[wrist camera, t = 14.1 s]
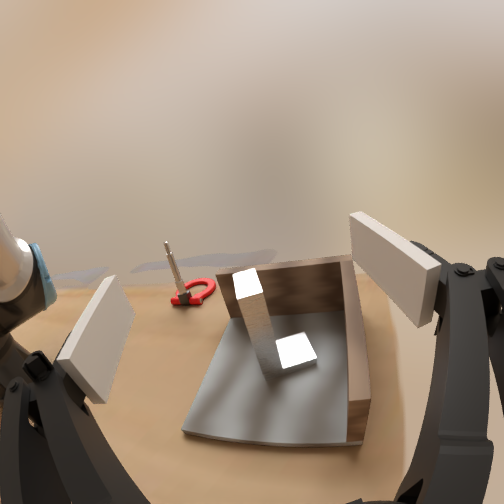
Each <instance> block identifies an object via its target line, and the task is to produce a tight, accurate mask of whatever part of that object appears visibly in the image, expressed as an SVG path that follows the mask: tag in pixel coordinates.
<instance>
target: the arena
mask: <svg viewBox="0 0 504 504" xmlns="http://www.w3.org/2000/svg"><path fill="white" fill-rule="evenodd" d="M253 268H255V271H256V274H257V276H258V279H259V282H260V285H261V288H262V291H263V294H264V298H265V302H266V306H267V309H268V313H269V317H270V321H271V324H272V328H273V332H274V336H275V339H276V340H279V339H282V338H286V337H289V336H292V335H295V334H299V333H302V332H305V334H306V336H307V339H308V341H309V343H310V345H311V347H312V349H313V351H314V353H315V355H316V357H317V364H316V365H313V366H310V367H307V368H304V369H301V370H298V371H295V372H292V373H288V374H285V375H282V376H278V377H275V378H271V379H267V380H265V379H264V376H263V373H262V370H261V368H260V365H259V362H258V359H257V356H256V353H255V350H254V348H253V345H252V342H251V339H250V336H249V333H248V330H247V327H246V324H245V321H244V318H243V315H242V312H241V309H240V306H239V303H238V300H237V295H236V290H235V284H234V278H233V274H236V273H239V272H243V271H246V270H250V269H253ZM216 277H217V281H218V284H219V286H220V289H221V292H222V295H223V298H224V301H225V303H226V306H227V309H228V312H229V314H230V317H231V318H230V321H229V323H228V325H227V327H226V330H225V332H224V334H223V336H222V339H221V341H220V343H219V345H218V348H217V350H216V352H215V354H214V357H213V359H212V361H211V363H210V366H209V368H208V370H207V372H206V375H205V377H204V379H203V381H202V384H201V386H200V388H199V390H198V393H197V395H196V397H195V399H194V401H193V404H192V406H191V408H190V410H189V413H188V415H187V417H186V419H185V421H184V424H183V426H182V428H181V430H182V431H183V432H184V433H185V434H190V435H195V436H200V437H205V438H211V439H217V440H223V441H230V442H237V443H246V444H255V445H267V446H284V447H333V446H350V445H362V443H363V439H364V434H365V429H366V424H367V419H368V414H369V408H370V402H371V391H370V378H369V367H368V357H367V348H366V340H365V332H364V325H363V318H362V311H361V305H360V299H359V293H358V287H357V282H356V276H355V271H354V266H353V261H352V256H351V254H350V255H341V256H334V257H325V258H316V259H308V260H298V261H290V262H281V263H272V264H262V265H253V266H244V267H234V268H225V269H219V270H218V271H217V273H216Z"/></svg>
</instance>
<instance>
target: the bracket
mask: <svg viewBox="0 0 504 504" xmlns="http://www.w3.org/2000/svg"><path fill="white" fill-rule="evenodd" d="M233 278H234V284H235V290H236V295H237V300H238V303H239V306H240V309H241V312H242V315H243V318H244V321H245V324H246V327H247V330H248V333H249V336H250V339H251V342H252V345H253V348H254V350H255V353H256V356H257V359H258V362H259V365H260V368H261V370H262V373H263V376H264V379H265V380H267V379H271V378H275V377H278V376H282V375H285V374H288V373H292V372H295V371H298V370H301V369H304V368H307V367H310V366H313V365H316V364H317V357H316V355H315V353H314V351H313V349H312V347H311V345H310V343H309V341H308V339H307V336H306V334H305V332H302V333H299V334H295V335H292V336H289V337H286V338H282V339H279V340H276V339H275V336H274V332H273V328H272V324H271V321H270V317H269V313H268V309H267V306H266V302H265V298H264V294H263V291H262V288H261V285H260V282H259V279H258V276H257V274H256V271H255V268H253V269H250V270H246V271H243V272H239V273H236V274H233Z"/></svg>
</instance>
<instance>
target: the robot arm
mask: <svg viewBox="0 0 504 504" xmlns="http://www.w3.org/2000/svg"><path fill="white" fill-rule="evenodd" d="M349 219H350V232H351V245H352V259H353V260H354V261H355V262H356V263H357V264H358V265H359V266H360V267H361V268H362V269H363V270H364V271H365V272H366V273H367V274H368V275H369V276H370V277H371V278H372V279H373V280H374V281H375V282H376V284H377V285H378V286H379V287H380V288H381V289H382V290H383V291H384V292H385V293H386V294H387V295H388V296H389V297H390V298H391V299H392V300H393V302H394V303H395V304H396V305H397V306H398V307H399V308H400V309H401V310H402V311H403V312H404V313H405V315H406V316H407V317H408V318H409V319H410V320H411V321H412V322H413V324H414V325H415V326H416V327H417V328H419V327H421V326H424V325H426V324H428V323H429V322H431V321H432V316H433V311H434V310H435V311H436V312H437V313H438V314H439V318H438V322H437V326H436V330H435V334H434V335H437V339H436V349H435V359H434V366H433V374H432V381H431V386H430V392H429V397H428V402H427V407H426V411H425V416H424V420H423V424H422V428H421V432H420V436H419V439H418V443H417V446H416V449H415V453H414V456H413V459H412V462H411V465H410V467H409V470H408V472H407V474H406V476H405V477H404V479H403V481H402V483H401V485H400V487H399V489H398V492H397V494H396V496H395V499H394V501H368V502H363V501H362V499H361V498H360V499H358V500H355V501H352V502H349V503H347V504H482V503H483V499H484V496H485V492H486V488H487V484H488V480H489V475H490V471H491V465H492V460H493V452H494V451H493V450H494V446H493V442H492V441H490V440H488V439H487V424H488V414H489V394H490V392H489V391H490V371H489V357H490V360H491V364H492V367H493V371H494V374H495V378H496V382H497V386H498V390H499V395H500V400H501V405H502V410H503V415H504V258H501V257H493V258H490V259H489V260H488V261H487V266H486V269H485V270H479V271H476V270H475V269H474V268H473V267H472V266H469V265H467V264H464V263H455V264H452V265H451V264H450V263H448V262H447V261H446V260H444V259H443V258H441V257H440V256H438V255H437V254H434V252H433V251H431V250H428V248H427V247H425V246H424V245H422V244H420V243H417V242H414V241H410V242H409V241H408V240H406V239H405V238H403V237H401V236H400V235H398V234H397V233H395V232H394V231H392V230H391V229H389V228H387V227H386V226H384V225H383V224H381V223H379V222H378V221H376V220H375V219H373V218H371V217H370V216H368V215H366V214H365V213H363V212H361V211H360V212H356V213H352V214H349ZM56 299H57V293H56V290H55V288H54V285H53V283H52V280H51V278H50V276H49V273H48V270H47V267H46V265H45V262H44V260H43V257H42V254H41V251H40V248H39V246H38V244H36V243H33V244H29V245H27V244H26V242H25V241H23V240H22V239H19V238H16V237H13V236H12V234H11V232H10V230H9V229H8V227H7V225H6V223H5V221H4V219H3V217H2V215H1V214H0V406H1V407H2V408H3V412H2V420H1V430H0V496H1V504H71V502H72V504H151V503H150V502H149V501H148V500H147V499H146V497H145V496H144V495H143V493H142V492H141V491H140V490H139V488H138V487H137V486H136V484H135V483H134V482H133V480H132V479H131V477H130V476H129V475H128V473H127V472H126V470H125V469H124V467H123V466H122V464H121V463H120V461H119V460H118V458H117V457H116V455H115V454H114V452H113V450H112V449H111V447H110V446H109V444H108V442H107V440H106V439H105V437H104V435H103V434H102V432H101V430H100V428H99V426H98V424H97V423H96V421H95V419H94V417H93V415H92V413H91V411H90V409H89V407H88V406H87V404H86V403H85V402H84V399H85V396H87V397H88V398H89V399H90V400H91V402H92V403H93V404H107V400H108V397H109V393H110V390H111V386H112V383H113V380H114V376H115V373H116V370H117V367H118V364H119V360H120V357H121V354H122V351H123V348H124V345H125V342H126V339H127V337H128V334H129V331H130V328H131V325H132V323H133V320H134V317H135V312H134V310H133V308H132V306H131V305H130V303H129V301H128V299H127V297H126V295H125V293H124V291H123V288H122V286H121V284H120V282H119V280H118V278H117V276H116V275H113V276H110V277H106V278H105V279H104V280H103V282H102V283H101V285H100V286H99V288H98V289H97V291H96V292H95V294H94V296H93V297H92V299H91V300H90V302H89V304H88V305H87V307H86V308H85V310H84V312H83V313H82V315H81V317H80V318H79V320H78V322H77V323H76V325H75V327H74V329H73V330H72V331H71V332H70V333H69V335H68V337H67V338H66V340H65V343H64V344H63V346H62V348H61V349H60V351H59V353H58V355H57V357H56V359H55V361H54V362H53V364H51V363H50V361H49V360H48V359H47V357H46V356H45V355H44V353H43V352H42V351H35V352H33V353H30V352H28V351H27V350H26V349H25V348H23V347H22V346H21V345H20V344H18V343H17V342H16V341H15V340H14V339H13V337H12V336H11V334H10V333H9V332H11V331H12V330H13V329H15V328H16V327H18V326H20V325H21V324H23V323H24V322H26V321H27V320H29V319H30V318H32V317H33V316H35V315H36V314H38V313H40V312H41V311H45V310H46V309H47V307H49V306H50V305H52V304H53V303H54V302H55V301H56ZM501 307H502V310H501ZM28 418H29V419H30V420H31V421H33V422H34V427H33V426H31V425H30V423H29V421H28Z"/></svg>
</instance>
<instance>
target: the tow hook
mask: <svg viewBox="0 0 504 504" xmlns="http://www.w3.org/2000/svg"><path fill="white" fill-rule="evenodd" d="M164 246H165V249H166V252H167V254H166V255H167V258H168V261H169V264H170V267H171V270H172V272H173V275H174V278H175V283H176V286H177V289H178V290H177V291H176V297H175V298H171V304H173V305H192V304H202V303H203V298H205V297H207V296H208V295H210V294H211V293H212V292H213V291H214V290H215V288H216V284H215V282H214V280H212V279H209V278H199V279H195V280H192V281H189V282H187V283H185V284H184V282H183V279H181V276H180V273H179V271H178V268H177V265H176V262H175V259H174V256H173V253H172V252H171V251H170V248H169V245H168V242H164ZM198 284H206V285H208V287H207V288H206V289H205V290H203V291H202V292H200V293H197V294H195V295H194V296H193V297H192V296H191V293H190V291H189V290H188V291H187V289H188V288H190V287H192V286H195V285H198Z"/></svg>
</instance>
